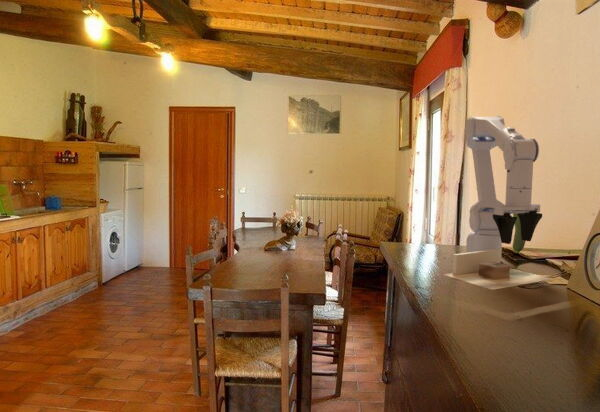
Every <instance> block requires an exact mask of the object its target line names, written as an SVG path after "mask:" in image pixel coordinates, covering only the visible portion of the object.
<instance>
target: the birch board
mask: <svg viewBox="0 0 600 412" xmlns="http://www.w3.org/2000/svg"><path fill="white" fill-rule="evenodd" d="M443 276H447V277H449V278H453V279H456V280H459V281H463V282H465V283H468V284H472V285H475V286H478V287H480V288H481V287H482V288H484V289H488V290H490V291H495V290H500V289H505V288H511V287H515V286H522V285H526V284H527V285H528V284H533V283H537V282H538V283H539V282H545V281H550V280H553V278H552V277H547V276H542V275H539V274H534V273H531V272H527V271H523V270H518V269H514V268H511V267H510V276H509V278H504V279H498V280H494V279H490V278H487V277H483V276H480V275H479V271H475V272H469V273H462V274H453V272H450V273H444V274H443Z"/></svg>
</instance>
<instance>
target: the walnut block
mask: <svg viewBox="0 0 600 412" xmlns="http://www.w3.org/2000/svg"><path fill="white" fill-rule="evenodd" d="M510 268H511V266H510V265H508V264H503V263H502V262H500V263H497V262H487V263H480V264H479V275H480V276H483V277H487V278H490V279H494V280H498V279H504V278H509V276H510Z"/></svg>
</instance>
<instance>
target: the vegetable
mask: <svg viewBox="0 0 600 412" xmlns="http://www.w3.org/2000/svg"><path fill="white" fill-rule="evenodd" d="M516 211H525V210H516ZM512 217H517V220H516V222H515V225H514V235H513V239H512V240H513V242H512V252H514V254H517V253H518V254H520V253H521V251H523V250H524V247H525V245H526V242H527V241H524V240H522V238H521V224H520V220H519V216H518V213H517V214H512Z"/></svg>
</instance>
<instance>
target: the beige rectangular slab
mask: <svg viewBox="0 0 600 412" xmlns="http://www.w3.org/2000/svg"><path fill="white" fill-rule="evenodd" d="M500 256H501V257H502V252H501V250H500V249H492V250H484V251H476V252H468V253H466V252H461V253H453V254H452V273H453V274H462V273H469V272H475V271H479V264H480V263H487V262H497V263H501V262H500Z"/></svg>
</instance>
